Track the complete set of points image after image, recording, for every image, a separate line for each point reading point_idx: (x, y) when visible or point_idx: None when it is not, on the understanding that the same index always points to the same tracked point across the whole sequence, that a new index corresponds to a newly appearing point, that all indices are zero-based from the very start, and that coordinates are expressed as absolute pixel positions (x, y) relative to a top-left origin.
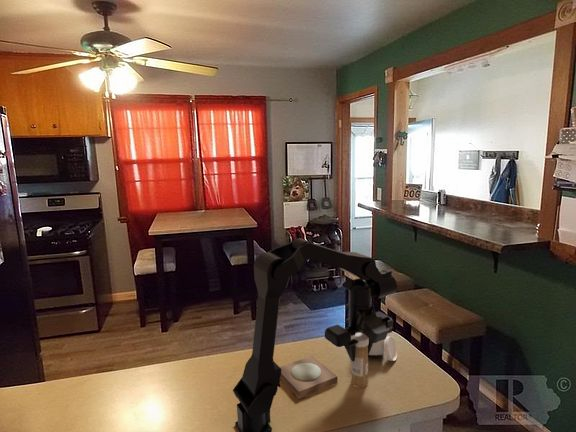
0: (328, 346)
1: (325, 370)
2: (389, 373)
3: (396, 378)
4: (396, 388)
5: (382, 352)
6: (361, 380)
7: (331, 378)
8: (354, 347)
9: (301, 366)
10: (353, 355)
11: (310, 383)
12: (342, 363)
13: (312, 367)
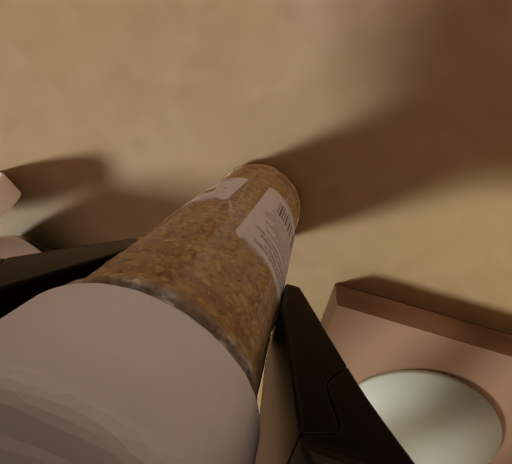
0: None
1: None
2: (86, 139)
3: (87, 85)
4: (150, 27)
5: (5, 239)
6: (278, 186)
7: (376, 318)
8: (319, 413)
9: None
10: (309, 324)
11: (490, 374)
12: None
13: None
